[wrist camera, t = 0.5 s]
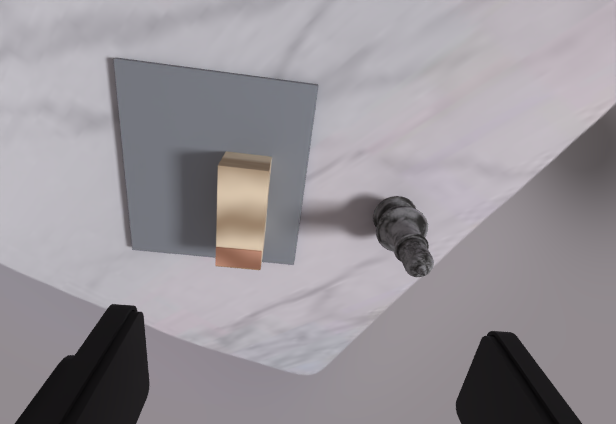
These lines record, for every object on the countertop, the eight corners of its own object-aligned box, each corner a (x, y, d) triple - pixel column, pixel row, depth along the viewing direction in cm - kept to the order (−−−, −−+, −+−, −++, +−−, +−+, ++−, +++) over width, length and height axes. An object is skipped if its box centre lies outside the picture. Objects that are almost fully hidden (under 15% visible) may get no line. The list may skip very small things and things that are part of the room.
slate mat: (117, 57, 36) (113, 58, 36) (317, 84, 38) (318, 85, 37) (135, 246, 46) (132, 249, 46) (293, 261, 48) (293, 264, 47)
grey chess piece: (361, 224, 46) (381, 285, 35) (389, 185, 43) (418, 238, 33) (400, 243, 47) (430, 308, 36) (428, 207, 45) (469, 265, 34)
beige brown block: (225, 151, 40) (217, 165, 36) (271, 156, 41) (268, 171, 36) (223, 244, 46) (215, 266, 41) (263, 248, 46) (260, 270, 42)
